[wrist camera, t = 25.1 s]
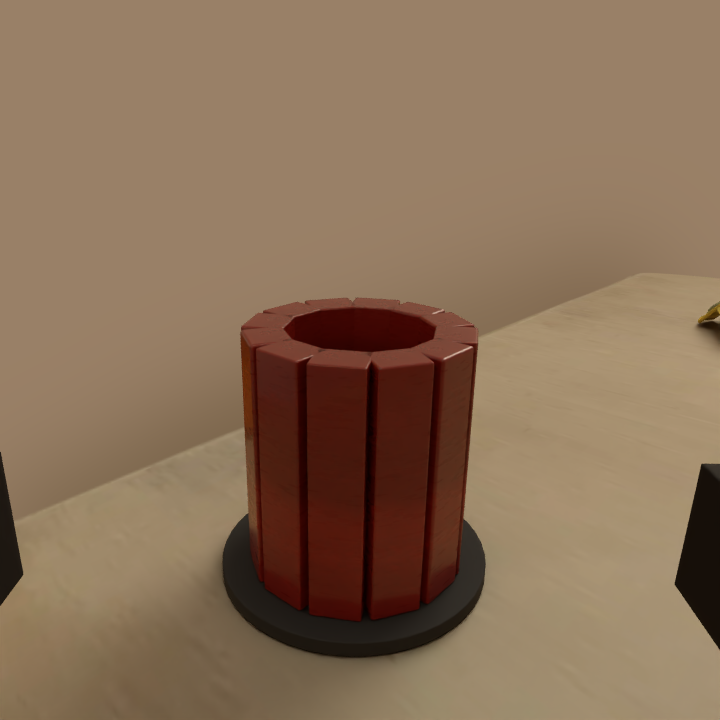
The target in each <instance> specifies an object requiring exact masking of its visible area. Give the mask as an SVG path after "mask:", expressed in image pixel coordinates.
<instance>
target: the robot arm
mask: <svg viewBox="0 0 720 720" xmlns="http://www.w3.org/2000/svg"><path fill="white" fill-rule="evenodd" d="M22 576H23V569H22V564H21V559H20V553H19V548H18V543H17V537H16V532H15V527H14V521H13V516H12V510H11V505H10V500H9V494H8V489H7V484H6V479H5V473H4V468H3V462H2V457H1V452H0V606H1V604H2V603H3V601H4V600H5V599H6V597H7V596H8V595H9V593H10V592H11V591H12V589H13V588H14V587H15V585H16V584H17V583H18V581H19V580H20V579H21V577H22ZM675 586H676V587H677V589H678V590H679V591H680V593H681V594H682V596H683V597H684V599H685V600H686V602H687V603H688V604H689V606H690V607H691V609H692V610H693V612H694V613H695V615H696V616H697V618H698V619H699V620H700V622H701V623H702V625H703V626H704V628H705V629H706V631H707V632H708V633H709V635H710V636H711V638H712V639H713V641H714V642H715V644H716V645H717V646H718V648H719V649H720V464H701V469H700V473H699V478H698V482H697V487H696V491H695V495H694V500H693V504H692V509H691V513H690V518H689V522H688V527H687V531H686V535H685V540H684V544H683V549H682V553H681V558H680V562H679V567H678V571H677V575H676V580H675Z"/></svg>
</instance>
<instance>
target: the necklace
mask: <svg viewBox="0 0 720 720" xmlns="http://www.w3.org/2000/svg"><path fill="white" fill-rule="evenodd" d="M718 316H720V302H718V303H716V304H715V305H713V306H712V307H710V308H709V310H708V312H707V314H706V315H704V316H701V317H700V318H699V320H698V323H701V322H702V321H704V320H713V319H715V318H716V317H718Z"/></svg>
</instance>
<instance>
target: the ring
mask: <svg viewBox="0 0 720 720" xmlns="http://www.w3.org/2000/svg"><path fill="white" fill-rule="evenodd" d="M240 335H241V358H242V377H243V378H242V379H243V402H244V424H245V446H246V468H247V490H248V512H249V534H250V554H251V557H252V560H253V563H254V566H255V569H256V572H257V575H258V578H259V580H260V582H264V583H265V589H266V590H268V591H270V592H271V593H273V594H274V595H276V596H277V597H279V598H280V599H282V600H283V601H285V602H286V603H288V604H290V605H291V606H293V607H294V608H296V609H297V610H299V611H301V610H302V609H304V608H305V607H306V606H308V605H309V614H310V615H314V616H321V617H328V618H336V619H343V620H350V621H357V622H361V620H362V617H363V613H364V609H366V611H367V613H368V615H369V617H370V619H371V620H373V621H374V620H378V619H382V618H386V617H390V616H394V615H398V614H402V613H406V612H411V611H415V610H418V609H419V608H420V601H421V602H423V603H425V604H429V603H430V602H431V601H433V600H434V599H435V598H436V597H437V596H438V595H439V594H440V593H441V592H442V591H443V590H445V589H446V588H447V587H448V586H449V585H450V584H451V583H452V582H453V581H454V580H455V574H458V573H459V565H460V553H461V541H462V529H463V517H464V505H465V493H466V481H467V470H468V458H469V446H470V434H471V422H472V410H473V398H474V386H475V374H476V362H477V350H478V328H475V327H474V324H472V323H470V322H468V321H466V320H465V319H463V318H460V317H459V316H457V315H455V314H454V313H452V312H449V313H445V310H442V309H439V308H434V307H429V306H425V305H420V304H416V303H411V302H406V303H403V304H400V301H399V300H386V299H370V298H356V299H355V300H354V301H353V302H352V301H351V300H349V299H348V298H338V299H322V300H309V301H305V304H303V303H299V302H295V303H291V304H287V305H283V306H279V307H275V308H272V309H268V310H264V311H263V313H257V314H256V315H255V316H254V317H252V318H251V319H250V320H249V321H247V322H246V323H245V324H244V325H243V326H242V327H241V334H240Z"/></svg>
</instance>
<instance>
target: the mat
mask: <svg viewBox="0 0 720 720" xmlns="http://www.w3.org/2000/svg"><path fill="white" fill-rule="evenodd" d="M222 565H223V577H224V584H225V587H226V590H227V592H228V595H229V597H230V599H231V600H232V602H233V604H234V605H235V607H236V608H237V609H238V611H239V612H240V613H241V614H242V615H243V616H244V617H245V618H246V619H247V620H248V621H249V622H250V623H252V624H253V625H254V626H255V627H256V628H258V629H259V630H261V631H263V632H264V633H266V634H268V635H269V636H271V637H273V638H275V639H277V640H279V641H282V642H284V643H286V644H289V645H292V646H295V647H298V648H301V649H304V650H308V651H313V652H318V653H323V654H330V655H340V656H372V655H382V654H389V653H394V652H398V651H403V650H407V649H410V648H413V647H416V646H419V645H423V644H425V643H427V642H429V641H431V640H434V639H436V638H438V637H440V636H442V635H443V634H445V633H446V632H448V631H449V630H451V629H453V628H454V627H455V626H456V625H457V624H459V623H460V622H461V621H462V620H463V619H464V618H465V617H466V616H467V615H468V614H469V612H470V611H471V610H472V609H473V608H474V606H475V604H476V602H477V600H478V599H479V597H480V594H481V591H482V588H483V585H484V575H485V565H486V563H485V554H484V551H483V547H482V544H481V542H480V540H479V538H478V536H477V534H476V533H475V531H474V530H473V529H472V527H471V526H470V525H469V524H468V523H467V522H466V521H465V520H464V519H463V529H462V541H461V553H460V565H459V573H458V574H455V580H454V581H453V582H452V583H451V584H450V585H449V586H448V587H447V588H446V589H445V590H443V591H442V592H441V593H440V594H439V595H438V596H437V597H436V598H435V599H434V600H433V601H431V602H430V603H429V604H425V603H423V602H421V601H420V608H419V609H418V610H415V611H411V612H406V613H402V614H398V615H394V616H390V617H386V618H382V619H378V620H374V621H373V620H371V619H370V617H369V615H368V613H367V611H366V609H364V613H363V617H362V620H361V622H357V621H350V620H343V619H336V618H328V617H321V616H314V615H310V614H309V605H308V606H306V607H305V608H304V609H302V610H301V611H299V610H297V609H296V608H294V607H293V606H291V605H290V604H288V603H286V602H285V601H283V600H282V599H280V598H279V597H277V596H276V595H274V594H273V593H271V592H270V591H268V590H266V589H265V583H264V582H260V580H259V578H258V575H257V572H256V569H255V566H254V563H253V560H252V557H251V554H250V534H249V513H248V514H246V515H245V516H244V517H243V518H242V519H241V520H240V521H239V522H238V524H237V525H236V526H235V528H234V529H233V530H232V532H231V534H230V536H229V538H228V540H227V542H226V545H225V548H224V552H223V562H222Z"/></svg>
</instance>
